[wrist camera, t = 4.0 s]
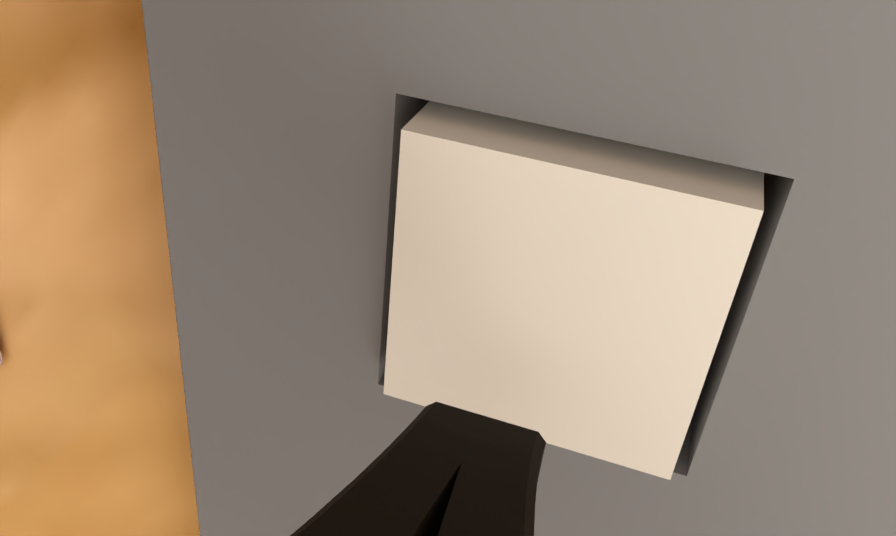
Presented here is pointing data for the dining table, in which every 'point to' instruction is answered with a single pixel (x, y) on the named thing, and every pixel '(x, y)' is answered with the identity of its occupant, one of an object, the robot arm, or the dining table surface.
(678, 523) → the key console
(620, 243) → the white key
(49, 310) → the dining table surface
